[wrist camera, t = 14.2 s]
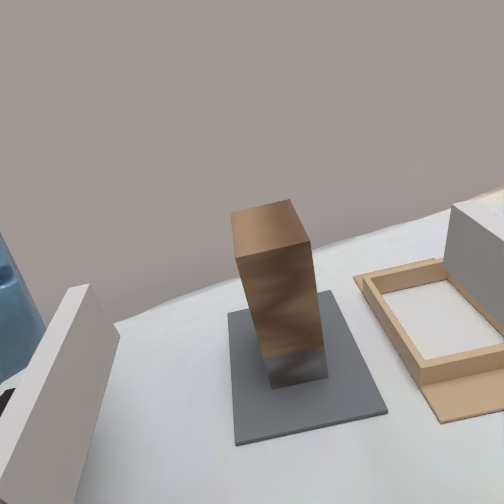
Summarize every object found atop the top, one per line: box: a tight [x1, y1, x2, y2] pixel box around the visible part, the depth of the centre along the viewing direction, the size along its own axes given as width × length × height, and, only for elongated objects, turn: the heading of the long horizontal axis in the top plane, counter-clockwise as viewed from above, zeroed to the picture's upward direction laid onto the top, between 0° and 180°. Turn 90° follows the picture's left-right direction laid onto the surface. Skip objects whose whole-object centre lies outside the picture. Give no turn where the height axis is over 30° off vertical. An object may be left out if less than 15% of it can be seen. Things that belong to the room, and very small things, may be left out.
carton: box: [353, 258, 504, 424], centre depth 32 cm, size 13×18×2 cm
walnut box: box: [231, 199, 329, 390], centre depth 29 cm, size 5×7×14 cm
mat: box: [228, 290, 388, 446], centre depth 33 cm, size 12×15×1 cm
